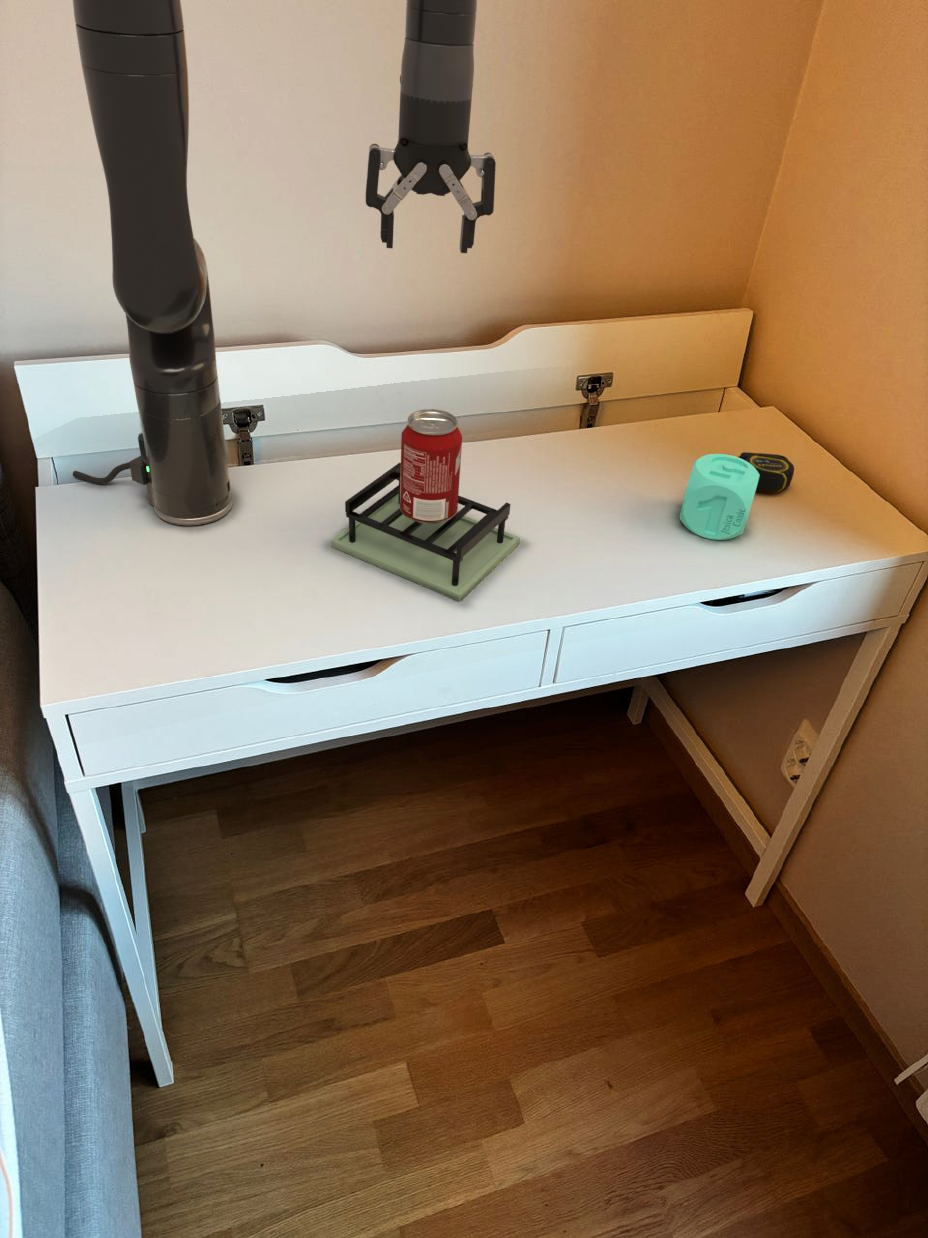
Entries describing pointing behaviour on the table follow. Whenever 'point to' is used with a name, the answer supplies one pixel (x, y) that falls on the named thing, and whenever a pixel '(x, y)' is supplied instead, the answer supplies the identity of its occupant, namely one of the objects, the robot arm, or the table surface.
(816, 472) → the table surface
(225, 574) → the table surface
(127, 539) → the table surface
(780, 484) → the tape measure
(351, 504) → the drying rack
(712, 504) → the decorative dice
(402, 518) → the drip tray
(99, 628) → the table surface
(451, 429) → the soda can
